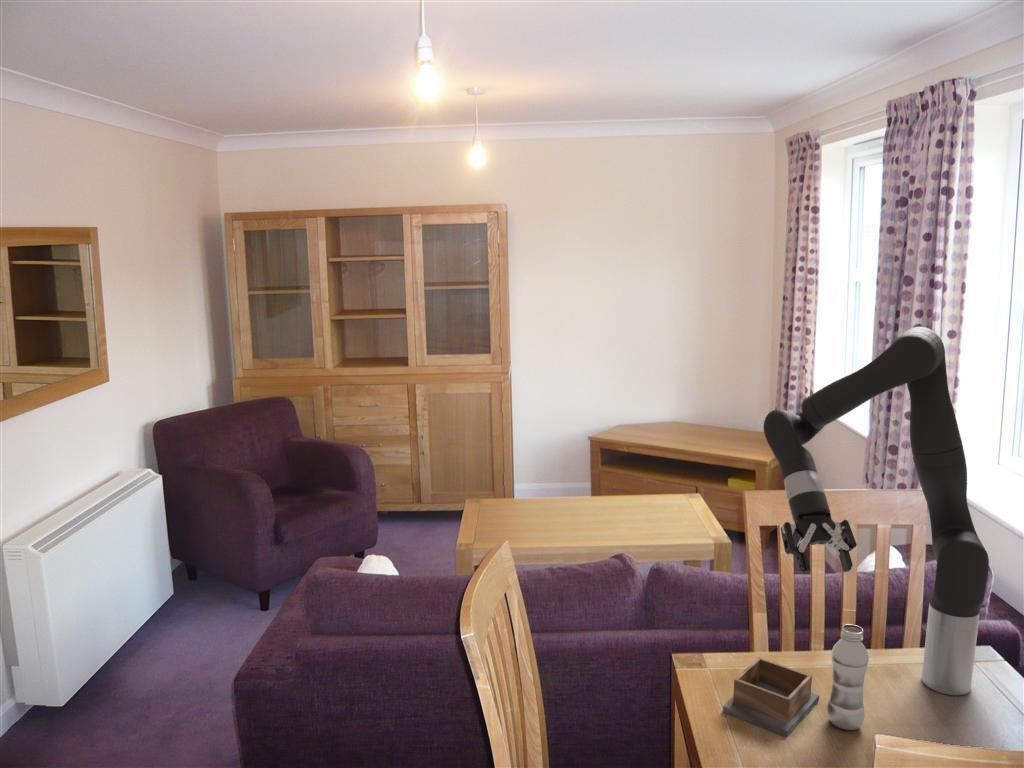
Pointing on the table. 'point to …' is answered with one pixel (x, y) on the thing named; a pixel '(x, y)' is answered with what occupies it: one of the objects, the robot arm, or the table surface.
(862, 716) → the metal bottle
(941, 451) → the robot arm
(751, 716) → the bottle holder
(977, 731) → the table surface
